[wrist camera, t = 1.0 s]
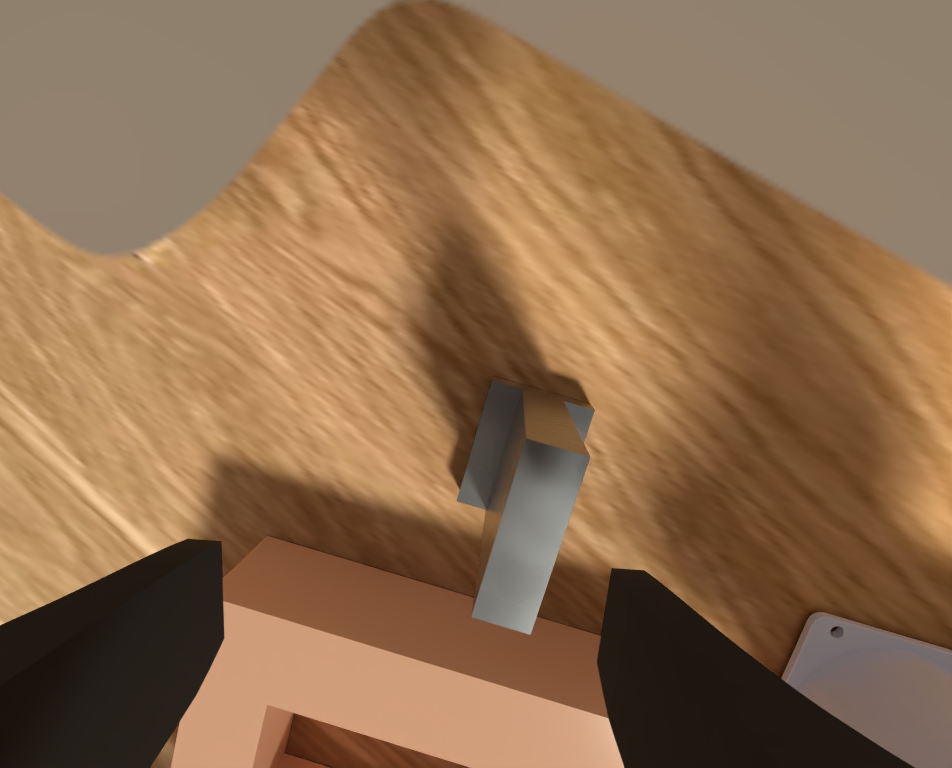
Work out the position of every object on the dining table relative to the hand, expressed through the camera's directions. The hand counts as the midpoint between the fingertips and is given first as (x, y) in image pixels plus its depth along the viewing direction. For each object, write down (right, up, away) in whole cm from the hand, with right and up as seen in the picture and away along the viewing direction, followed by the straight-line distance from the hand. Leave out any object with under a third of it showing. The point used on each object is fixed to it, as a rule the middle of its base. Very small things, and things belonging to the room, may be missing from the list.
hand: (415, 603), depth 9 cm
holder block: (-1, -12, +14) cm, 18 cm away
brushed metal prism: (+3, +1, +11) cm, 12 cm away
